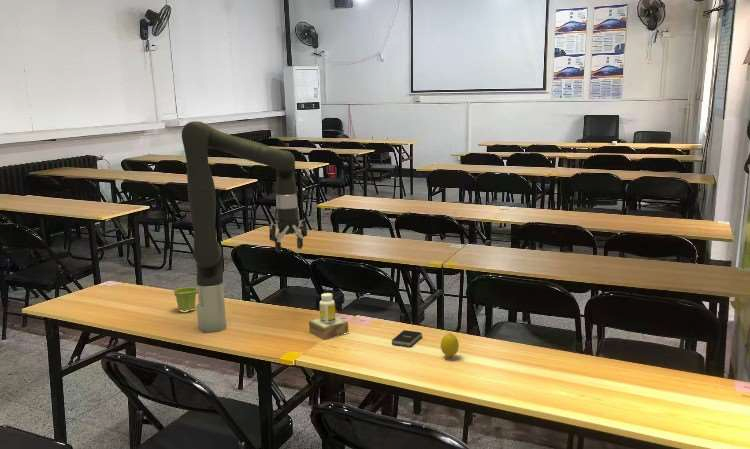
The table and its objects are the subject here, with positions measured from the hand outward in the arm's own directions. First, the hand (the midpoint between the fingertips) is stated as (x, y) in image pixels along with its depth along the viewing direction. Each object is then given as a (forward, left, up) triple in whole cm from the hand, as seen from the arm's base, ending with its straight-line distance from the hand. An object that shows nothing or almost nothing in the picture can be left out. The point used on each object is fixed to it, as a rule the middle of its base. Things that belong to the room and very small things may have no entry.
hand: (289, 250), depth 218 cm
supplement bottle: (+5, -17, -24) cm, 30 cm away
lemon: (+22, -61, -28) cm, 71 cm away
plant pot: (-25, +43, -28) cm, 57 cm away
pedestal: (+5, -17, -28) cm, 33 cm away
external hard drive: (+21, -41, -29) cm, 54 cm away
